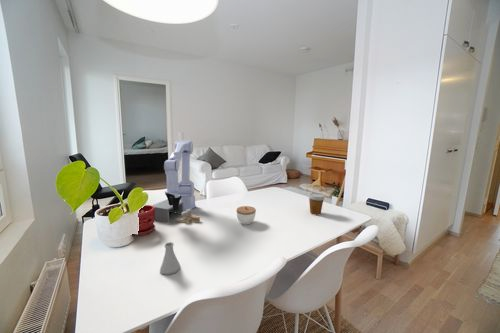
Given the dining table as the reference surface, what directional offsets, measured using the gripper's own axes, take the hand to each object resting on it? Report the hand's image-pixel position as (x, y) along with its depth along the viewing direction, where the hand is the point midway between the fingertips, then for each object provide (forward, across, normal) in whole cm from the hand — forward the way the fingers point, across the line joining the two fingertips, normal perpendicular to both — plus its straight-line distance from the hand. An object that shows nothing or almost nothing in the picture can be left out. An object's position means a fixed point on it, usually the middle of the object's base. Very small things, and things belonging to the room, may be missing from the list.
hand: (173, 207), depth 119 cm
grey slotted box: (+10, -14, 0) cm, 17 cm away
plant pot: (+10, 0, -16) cm, 19 cm away
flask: (+10, +38, -13) cm, 42 cm away
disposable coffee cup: (+10, +31, +79) cm, 85 cm away
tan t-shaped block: (+10, -1, +9) cm, 13 cm away
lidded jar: (+10, +19, +34) cm, 40 cm away
